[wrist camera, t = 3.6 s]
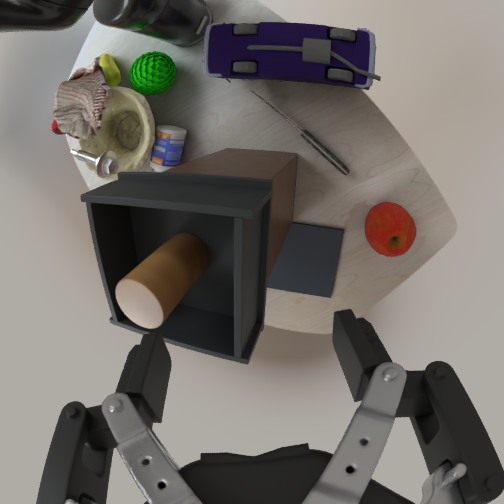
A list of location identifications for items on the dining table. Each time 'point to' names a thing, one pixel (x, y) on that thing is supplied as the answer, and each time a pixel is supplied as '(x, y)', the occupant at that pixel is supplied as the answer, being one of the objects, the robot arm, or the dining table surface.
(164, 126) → the pill bottle
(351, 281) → the dining table surface
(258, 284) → the bin
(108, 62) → the bottle
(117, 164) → the screw
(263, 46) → the toy car
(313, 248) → the mat
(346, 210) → the dining table surface
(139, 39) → the dining table surface
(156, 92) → the ornament
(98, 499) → the robot arm
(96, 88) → the wadded dish towel
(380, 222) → the apple
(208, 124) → the dining table surface
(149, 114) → the bowl
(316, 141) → the knife
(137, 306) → the brown cylinder
